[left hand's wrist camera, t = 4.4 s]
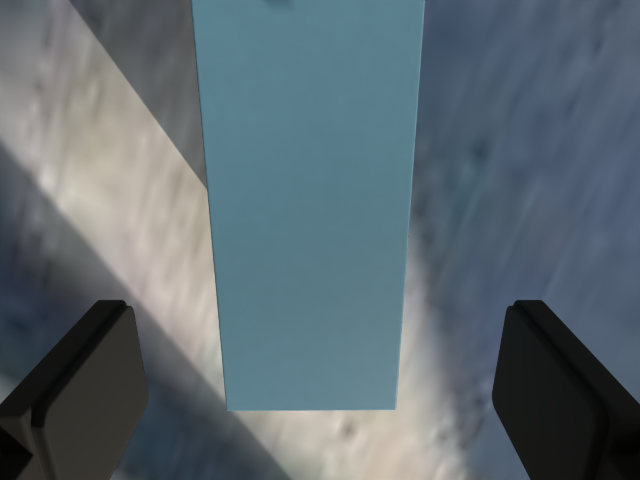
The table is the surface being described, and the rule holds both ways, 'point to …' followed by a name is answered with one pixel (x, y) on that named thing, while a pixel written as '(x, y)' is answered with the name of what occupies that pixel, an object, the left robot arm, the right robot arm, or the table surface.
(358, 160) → the cabinet
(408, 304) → the table surface
